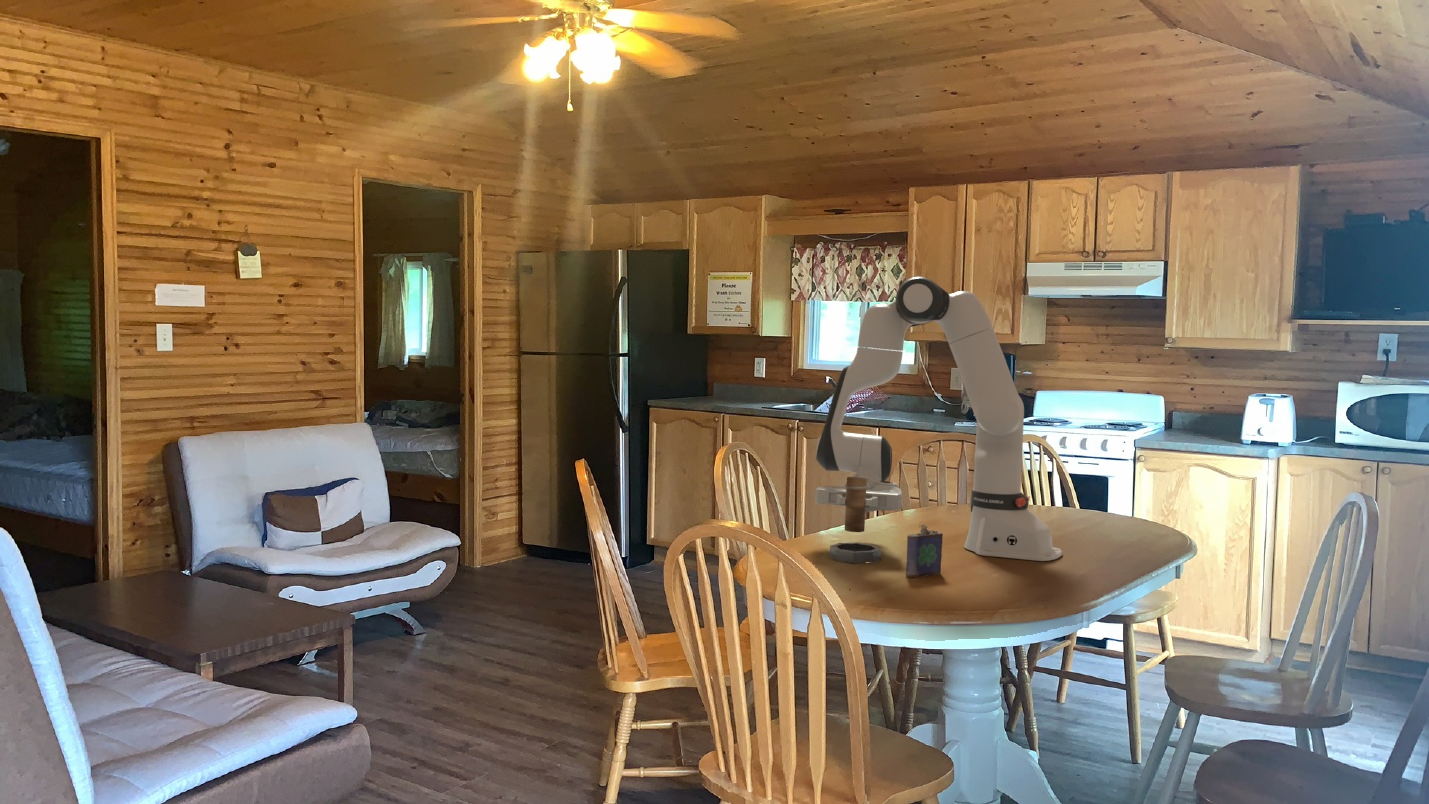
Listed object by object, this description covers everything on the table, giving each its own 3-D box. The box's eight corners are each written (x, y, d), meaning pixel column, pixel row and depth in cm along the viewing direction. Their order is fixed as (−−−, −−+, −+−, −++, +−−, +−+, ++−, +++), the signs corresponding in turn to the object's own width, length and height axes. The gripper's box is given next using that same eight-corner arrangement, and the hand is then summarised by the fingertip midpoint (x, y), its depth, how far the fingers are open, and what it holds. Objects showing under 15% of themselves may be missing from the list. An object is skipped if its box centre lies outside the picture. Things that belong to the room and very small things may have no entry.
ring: (886, 557, 245) (887, 546, 245) (866, 565, 236) (866, 554, 236) (844, 551, 251) (844, 540, 251) (823, 558, 242) (823, 548, 242)
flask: (911, 578, 225) (912, 528, 224) (901, 575, 227) (903, 525, 227) (943, 574, 229) (945, 525, 229) (934, 571, 232) (936, 522, 231)
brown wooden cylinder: (867, 530, 244) (870, 478, 243) (859, 533, 240) (861, 480, 239) (849, 527, 247) (852, 476, 246) (840, 530, 243) (843, 478, 242)
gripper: (819, 477, 258) (810, 485, 244) (904, 483, 253) (900, 492, 240) (817, 503, 258) (809, 512, 245) (903, 510, 253) (899, 519, 240)
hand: (855, 502), depth 242 cm, fingers closed on brown wooden cylinder, 4 cm apart
